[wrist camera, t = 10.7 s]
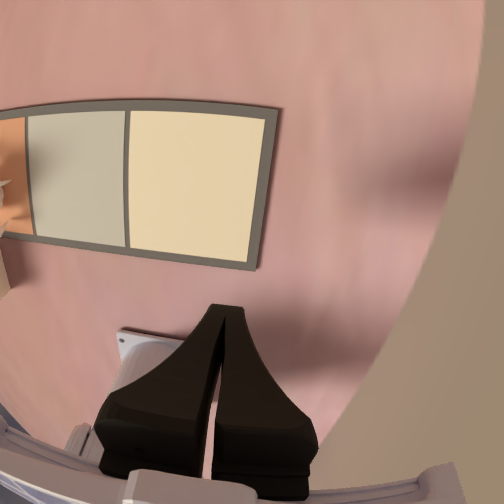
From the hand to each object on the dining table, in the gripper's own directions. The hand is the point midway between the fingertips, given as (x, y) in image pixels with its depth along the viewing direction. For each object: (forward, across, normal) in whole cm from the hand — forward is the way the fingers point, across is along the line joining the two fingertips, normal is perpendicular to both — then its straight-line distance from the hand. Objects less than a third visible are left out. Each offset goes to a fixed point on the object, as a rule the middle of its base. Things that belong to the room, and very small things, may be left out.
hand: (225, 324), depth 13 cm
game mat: (+9, +12, -3) cm, 16 cm away
